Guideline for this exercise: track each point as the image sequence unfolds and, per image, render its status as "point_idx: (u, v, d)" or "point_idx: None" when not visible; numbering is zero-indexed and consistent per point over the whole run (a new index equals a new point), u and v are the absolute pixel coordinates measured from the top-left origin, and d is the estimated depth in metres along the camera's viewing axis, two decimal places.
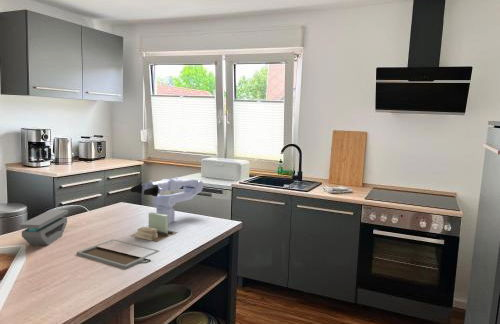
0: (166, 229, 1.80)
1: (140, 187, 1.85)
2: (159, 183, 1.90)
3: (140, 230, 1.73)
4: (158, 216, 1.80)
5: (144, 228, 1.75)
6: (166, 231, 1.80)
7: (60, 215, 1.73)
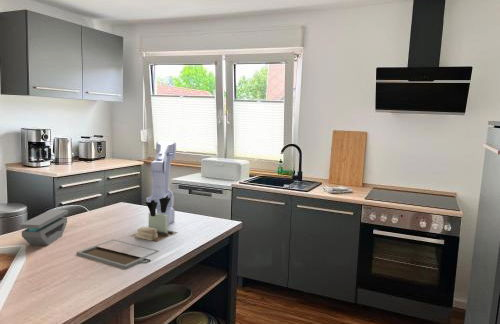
0: (166, 229, 1.80)
1: None
2: (164, 186, 1.80)
3: (140, 230, 1.73)
4: (158, 216, 1.80)
5: (144, 228, 1.75)
6: (166, 231, 1.80)
7: (60, 215, 1.73)
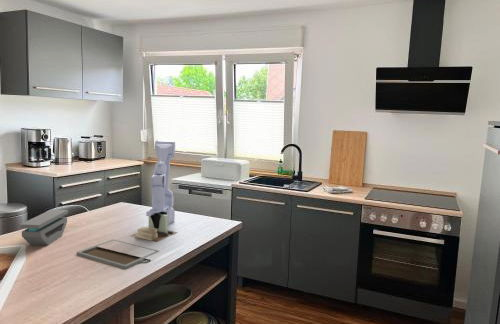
0: (166, 229, 1.80)
1: None
2: (164, 199, 1.81)
3: (140, 230, 1.73)
4: None
5: (144, 228, 1.75)
6: (166, 231, 1.80)
7: (60, 215, 1.73)
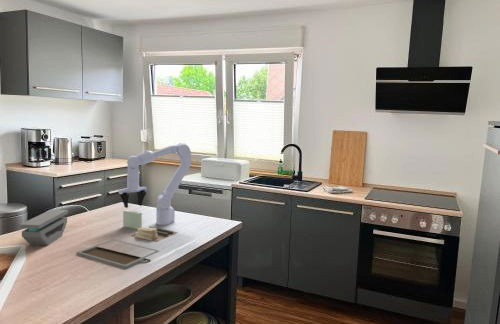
0: (140, 226, 1.87)
1: None
2: (138, 180, 1.91)
3: (140, 230, 1.73)
4: (132, 213, 1.87)
5: (144, 228, 1.75)
6: None
7: (60, 215, 1.73)
